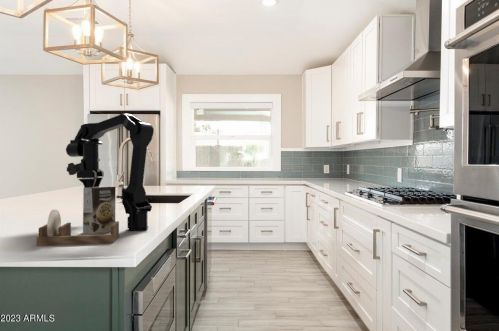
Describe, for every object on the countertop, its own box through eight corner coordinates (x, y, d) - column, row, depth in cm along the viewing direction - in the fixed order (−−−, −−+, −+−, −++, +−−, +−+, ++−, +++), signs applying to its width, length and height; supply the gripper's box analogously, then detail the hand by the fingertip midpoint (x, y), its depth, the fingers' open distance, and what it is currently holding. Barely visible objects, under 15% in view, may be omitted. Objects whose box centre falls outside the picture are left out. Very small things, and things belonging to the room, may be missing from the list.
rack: (118, 236, 121) (118, 206, 121) (113, 243, 111) (113, 210, 111) (49, 238, 117) (49, 207, 117) (36, 245, 107) (36, 212, 107)
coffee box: (93, 235, 123) (93, 187, 123) (82, 233, 126) (82, 187, 126) (116, 230, 131) (116, 186, 131) (104, 229, 134) (104, 185, 134)
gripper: (75, 157, 150) (75, 194, 150) (61, 155, 132) (62, 198, 132) (103, 156, 153) (104, 193, 153) (93, 155, 134) (94, 197, 134)
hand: (91, 195), depth 143 cm, fingers open, 9 cm apart
